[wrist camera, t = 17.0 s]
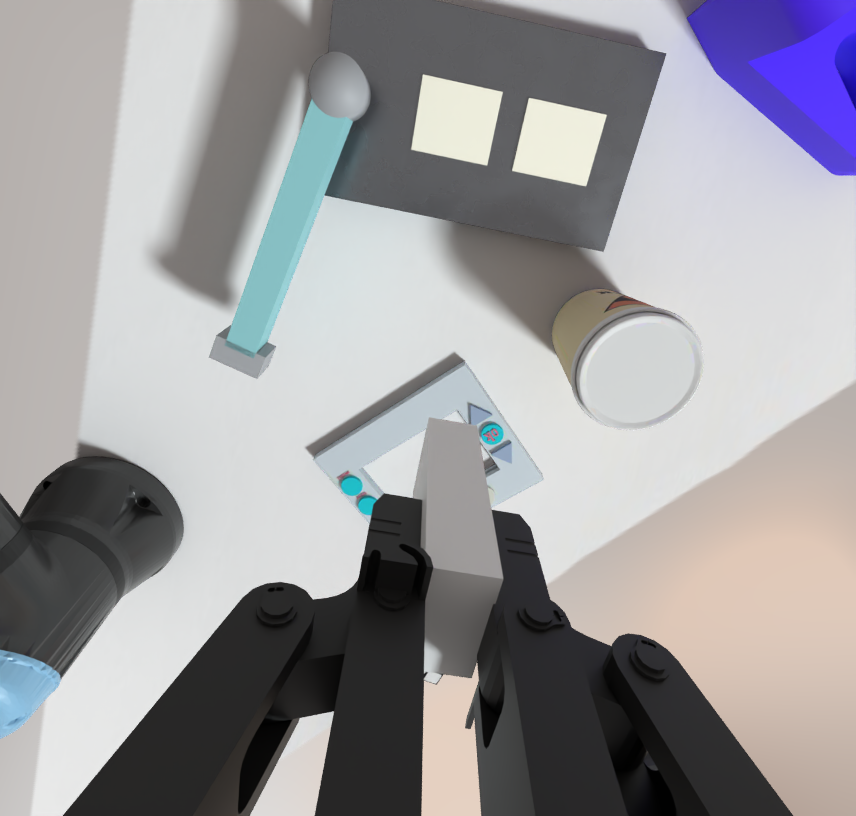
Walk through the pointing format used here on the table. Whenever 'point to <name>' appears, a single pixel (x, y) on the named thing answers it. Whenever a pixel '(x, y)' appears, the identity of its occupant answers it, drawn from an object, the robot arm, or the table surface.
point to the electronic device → (412, 418)
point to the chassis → (518, 80)
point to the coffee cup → (626, 359)
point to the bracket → (790, 67)
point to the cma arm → (294, 210)
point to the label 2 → (558, 142)
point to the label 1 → (456, 120)
